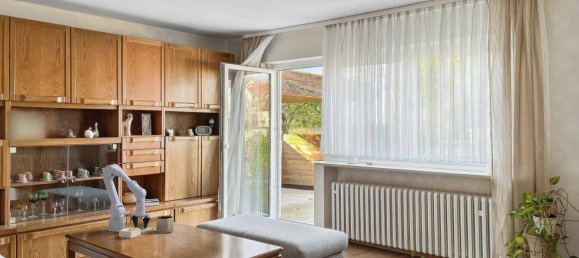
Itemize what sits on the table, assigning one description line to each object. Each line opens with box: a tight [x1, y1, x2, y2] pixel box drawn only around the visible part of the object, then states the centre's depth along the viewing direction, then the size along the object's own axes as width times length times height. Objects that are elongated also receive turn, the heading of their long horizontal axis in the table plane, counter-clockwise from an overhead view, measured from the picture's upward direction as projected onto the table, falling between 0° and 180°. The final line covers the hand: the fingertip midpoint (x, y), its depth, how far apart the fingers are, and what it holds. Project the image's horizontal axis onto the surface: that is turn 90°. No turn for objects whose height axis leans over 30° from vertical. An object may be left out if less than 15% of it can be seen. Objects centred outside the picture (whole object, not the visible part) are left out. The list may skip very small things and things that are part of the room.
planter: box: [155, 215, 175, 235], centre depth 292 cm, size 11×11×10 cm
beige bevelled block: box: [118, 227, 142, 239], centre depth 280 cm, size 9×9×4 cm
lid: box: [136, 222, 154, 234], centre depth 296 cm, size 11×11×5 cm
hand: (140, 227), depth 296 cm, fingers open, 7 cm apart
